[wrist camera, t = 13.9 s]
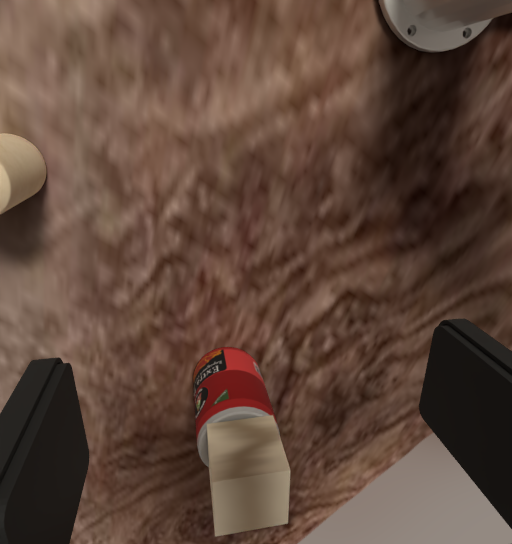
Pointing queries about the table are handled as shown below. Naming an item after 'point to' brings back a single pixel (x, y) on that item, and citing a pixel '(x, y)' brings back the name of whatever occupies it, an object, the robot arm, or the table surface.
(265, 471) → the birch block
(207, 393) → the canned food
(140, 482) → the table surface
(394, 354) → the table surface
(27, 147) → the candle
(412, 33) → the robot arm
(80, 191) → the table surface
